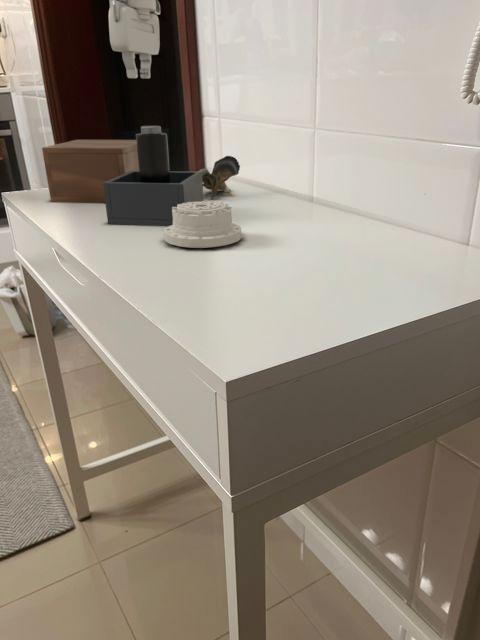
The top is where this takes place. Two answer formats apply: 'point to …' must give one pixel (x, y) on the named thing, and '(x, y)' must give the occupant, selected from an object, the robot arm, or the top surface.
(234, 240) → the mechanical component
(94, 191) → the cabinet
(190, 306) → the top surface
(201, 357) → the top surface
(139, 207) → the bin
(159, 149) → the spray can
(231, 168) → the toy chipmunk
